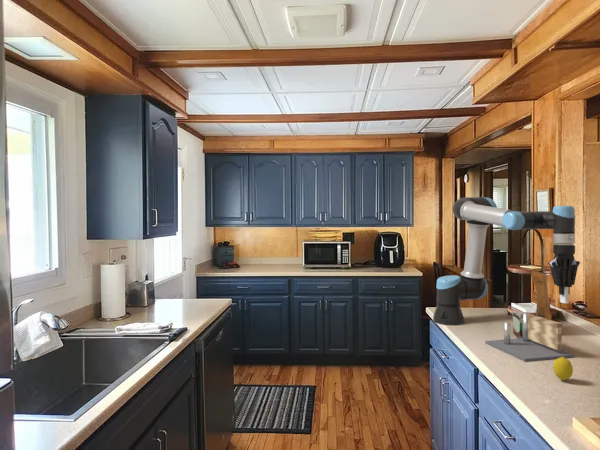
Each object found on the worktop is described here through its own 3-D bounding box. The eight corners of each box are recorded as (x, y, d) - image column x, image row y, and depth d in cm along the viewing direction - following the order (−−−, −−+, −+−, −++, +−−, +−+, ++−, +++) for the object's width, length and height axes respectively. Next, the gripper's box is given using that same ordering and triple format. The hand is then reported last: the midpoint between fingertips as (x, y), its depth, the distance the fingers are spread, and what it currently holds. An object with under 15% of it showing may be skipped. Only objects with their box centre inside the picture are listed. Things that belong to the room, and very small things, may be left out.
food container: (535, 341, 187) (535, 318, 187) (520, 340, 188) (520, 318, 188) (526, 333, 199) (526, 312, 199) (512, 333, 201) (512, 311, 200)
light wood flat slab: (527, 338, 183) (527, 314, 183) (532, 338, 183) (532, 314, 183) (556, 350, 167) (556, 324, 167) (562, 349, 168) (562, 323, 167)
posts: (502, 345, 182) (502, 315, 182) (526, 341, 187) (526, 311, 187) (508, 347, 179) (508, 316, 179) (532, 343, 184) (532, 313, 184)
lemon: (549, 377, 146) (549, 354, 146) (565, 377, 146) (565, 353, 146) (560, 384, 140) (560, 359, 140) (576, 383, 141) (576, 359, 141)
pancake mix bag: (539, 335, 196) (539, 274, 195) (530, 325, 214) (530, 269, 213) (556, 337, 194) (556, 274, 193) (545, 326, 212) (545, 269, 211)
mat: (485, 343, 186) (485, 340, 186) (529, 339, 190) (529, 337, 190) (524, 361, 162) (524, 358, 162) (574, 357, 166) (574, 354, 166)
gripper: (557, 245, 168) (557, 305, 169) (585, 244, 171) (585, 303, 171) (542, 244, 176) (543, 301, 176) (570, 243, 178) (570, 300, 179)
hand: (564, 302), depth 174 cm, fingers closed
